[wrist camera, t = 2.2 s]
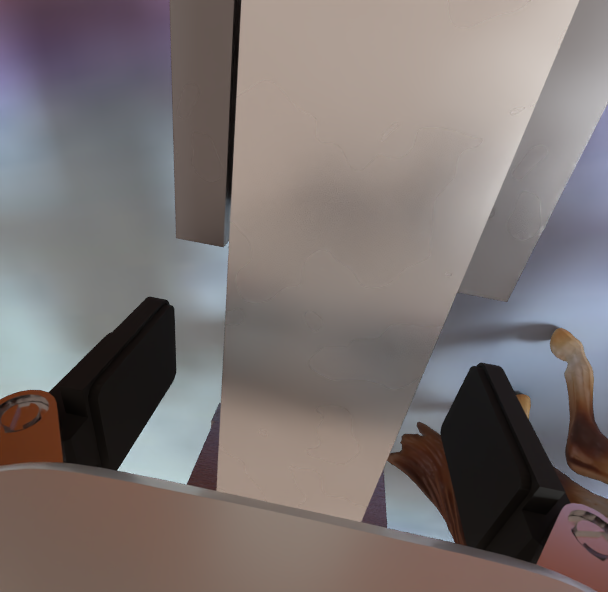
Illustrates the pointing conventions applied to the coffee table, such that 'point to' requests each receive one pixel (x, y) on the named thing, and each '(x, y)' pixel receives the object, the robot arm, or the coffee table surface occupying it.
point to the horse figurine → (582, 428)
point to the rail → (359, 221)
